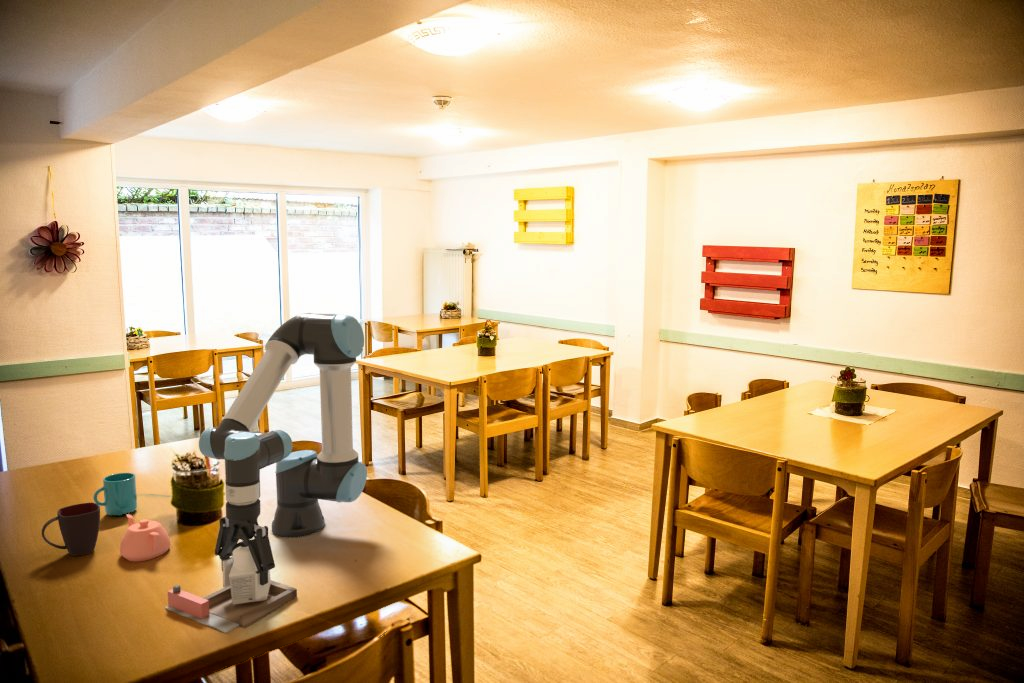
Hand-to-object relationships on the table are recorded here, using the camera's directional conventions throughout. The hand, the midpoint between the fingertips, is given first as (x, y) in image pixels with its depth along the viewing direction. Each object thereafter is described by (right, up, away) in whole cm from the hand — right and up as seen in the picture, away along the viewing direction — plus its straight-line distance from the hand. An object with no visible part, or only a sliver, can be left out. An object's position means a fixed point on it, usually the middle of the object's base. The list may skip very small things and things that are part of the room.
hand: (244, 591), depth 167 cm
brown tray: (-4, -3, +1) cm, 5 cm away
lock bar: (-12, -4, -3) cm, 13 cm away
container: (+1, -2, +2) cm, 3 cm away
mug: (-58, 0, +28) cm, 64 cm away
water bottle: (-39, +11, +109) cm, 117 cm away
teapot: (-39, 0, +29) cm, 48 cm away
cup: (-63, +4, +58) cm, 85 cm away
